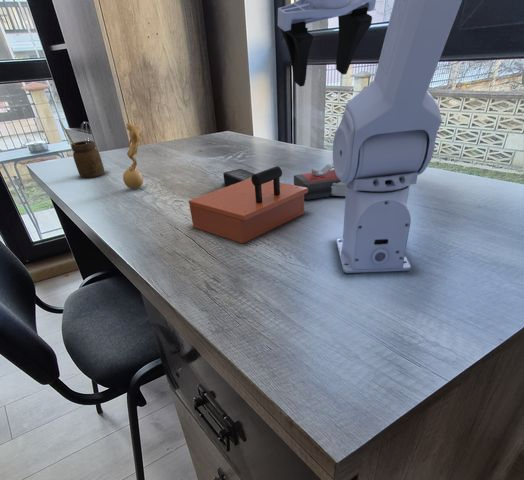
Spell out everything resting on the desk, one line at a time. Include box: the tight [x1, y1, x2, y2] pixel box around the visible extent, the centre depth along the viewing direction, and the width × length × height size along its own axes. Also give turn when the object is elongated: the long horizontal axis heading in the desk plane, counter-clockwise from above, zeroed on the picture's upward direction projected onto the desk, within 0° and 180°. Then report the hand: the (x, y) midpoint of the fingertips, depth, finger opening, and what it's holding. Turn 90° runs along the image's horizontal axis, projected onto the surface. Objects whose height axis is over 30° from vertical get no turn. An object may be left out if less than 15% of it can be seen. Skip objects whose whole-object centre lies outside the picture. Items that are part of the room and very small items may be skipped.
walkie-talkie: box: [293, 163, 346, 201], centre depth 70 cm, size 9×4×20 cm
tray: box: [189, 194, 305, 244], centre depth 62 cm, size 11×14×4 cm
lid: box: [188, 165, 308, 221], centre depth 59 cm, size 12×14×5 cm
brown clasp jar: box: [58, 119, 105, 179], centre depth 89 cm, size 6×6×12 cm
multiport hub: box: [222, 168, 255, 187], centre depth 76 cm, size 4×11×2 cm, turn 32°
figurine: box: [122, 122, 144, 190], centre depth 78 cm, size 8×6×12 cm
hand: (320, 77), depth 59 cm, fingers open, 7 cm apart
